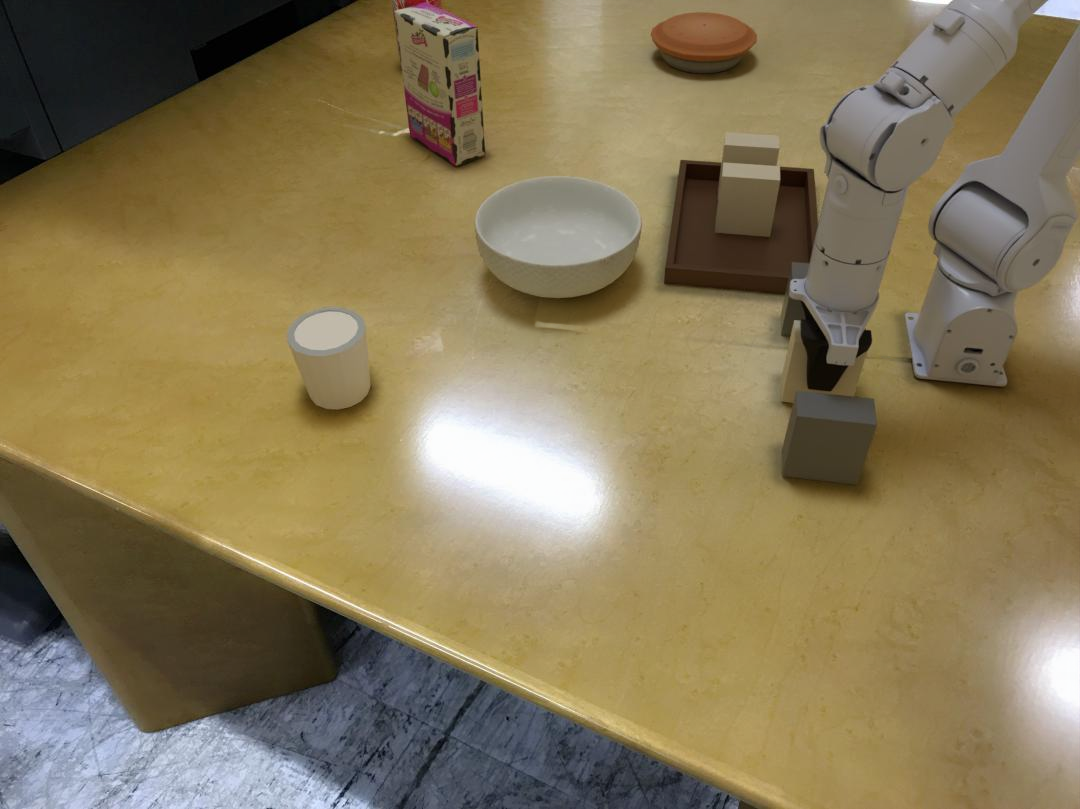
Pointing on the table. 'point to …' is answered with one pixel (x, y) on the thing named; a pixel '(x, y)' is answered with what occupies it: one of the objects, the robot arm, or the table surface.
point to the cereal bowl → (558, 235)
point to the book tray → (733, 256)
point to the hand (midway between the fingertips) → (818, 374)
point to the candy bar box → (442, 81)
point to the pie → (703, 41)
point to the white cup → (331, 356)
